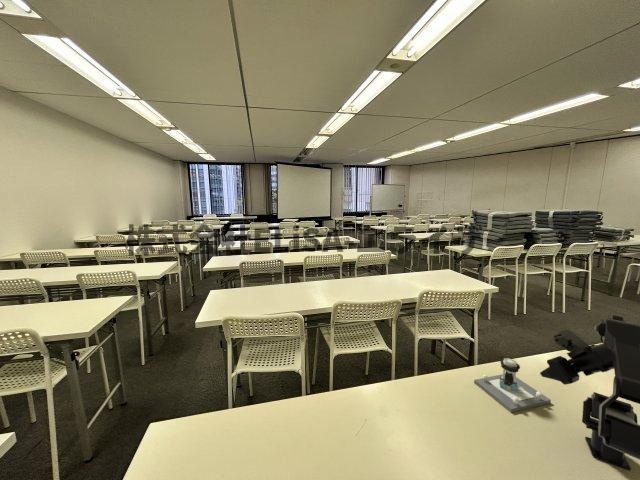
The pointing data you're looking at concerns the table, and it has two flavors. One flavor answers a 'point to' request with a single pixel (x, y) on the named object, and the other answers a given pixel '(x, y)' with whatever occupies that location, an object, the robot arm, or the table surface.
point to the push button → (509, 375)
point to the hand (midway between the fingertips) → (550, 371)
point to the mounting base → (512, 394)
